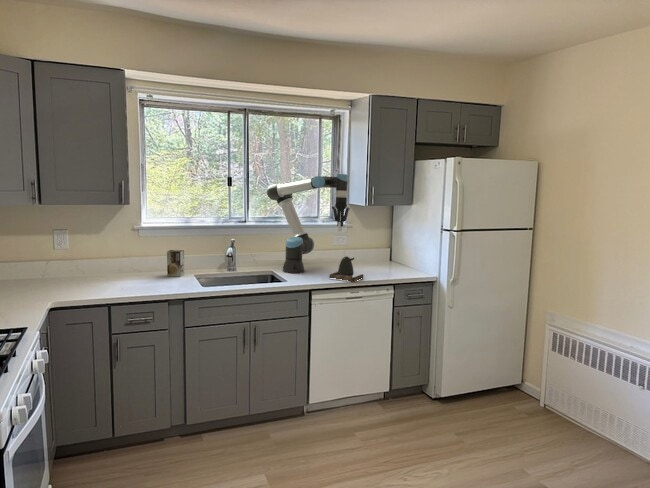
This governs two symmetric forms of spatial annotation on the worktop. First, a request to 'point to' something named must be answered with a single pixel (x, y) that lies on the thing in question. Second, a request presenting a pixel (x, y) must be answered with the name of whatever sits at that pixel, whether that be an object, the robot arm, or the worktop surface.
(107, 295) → the worktop surface
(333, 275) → the walnut bay
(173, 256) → the coffee box
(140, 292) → the worktop surface
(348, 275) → the dark grey tapered dome
